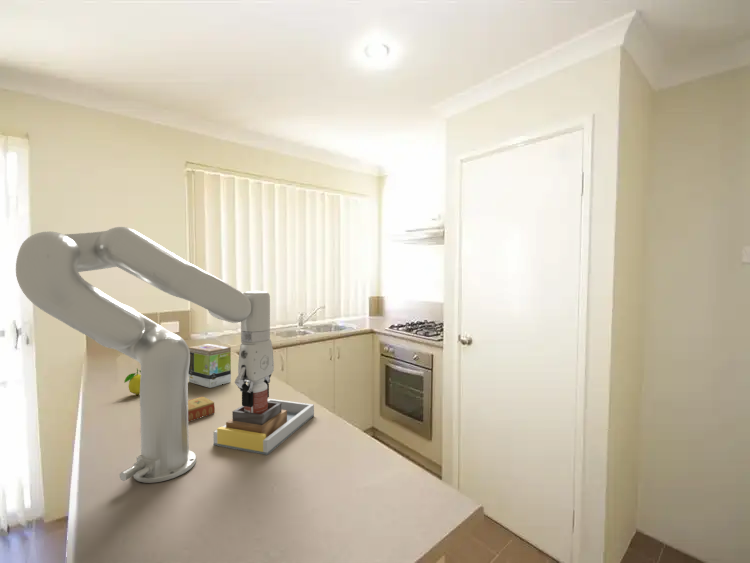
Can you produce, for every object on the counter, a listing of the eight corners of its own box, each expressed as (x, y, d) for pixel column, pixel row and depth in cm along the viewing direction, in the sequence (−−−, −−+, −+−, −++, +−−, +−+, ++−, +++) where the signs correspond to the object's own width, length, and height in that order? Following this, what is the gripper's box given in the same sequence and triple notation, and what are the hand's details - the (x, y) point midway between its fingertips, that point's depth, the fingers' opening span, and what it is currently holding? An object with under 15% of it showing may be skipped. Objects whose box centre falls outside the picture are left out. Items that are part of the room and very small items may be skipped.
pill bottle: (270, 411, 100) (270, 372, 99) (264, 420, 94) (264, 379, 93) (248, 411, 100) (248, 372, 99) (240, 420, 93) (240, 379, 93)
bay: (267, 455, 88) (267, 436, 88) (213, 445, 93) (213, 427, 92) (313, 415, 112) (313, 401, 111) (269, 409, 116) (269, 395, 116)
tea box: (231, 382, 145) (231, 346, 144) (209, 389, 136) (208, 351, 136) (210, 376, 153) (209, 342, 152) (187, 382, 144) (187, 346, 144)
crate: (261, 447, 90) (261, 418, 90) (226, 440, 93) (225, 412, 93) (287, 427, 101) (286, 401, 101) (254, 422, 105) (254, 397, 104)
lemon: (152, 392, 132) (152, 366, 132) (140, 398, 126) (140, 370, 126) (136, 391, 133) (135, 365, 133) (123, 397, 127) (123, 369, 127)
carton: (215, 414, 113) (214, 401, 113) (159, 432, 101) (159, 417, 101) (203, 408, 118) (203, 395, 118) (149, 424, 106) (148, 410, 106)
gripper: (246, 343, 87) (247, 415, 87) (284, 332, 103) (285, 392, 104) (221, 341, 89) (222, 411, 89) (262, 330, 105) (263, 390, 106)
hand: (255, 400), depth 96 cm, fingers closed on pill bottle, 6 cm apart
